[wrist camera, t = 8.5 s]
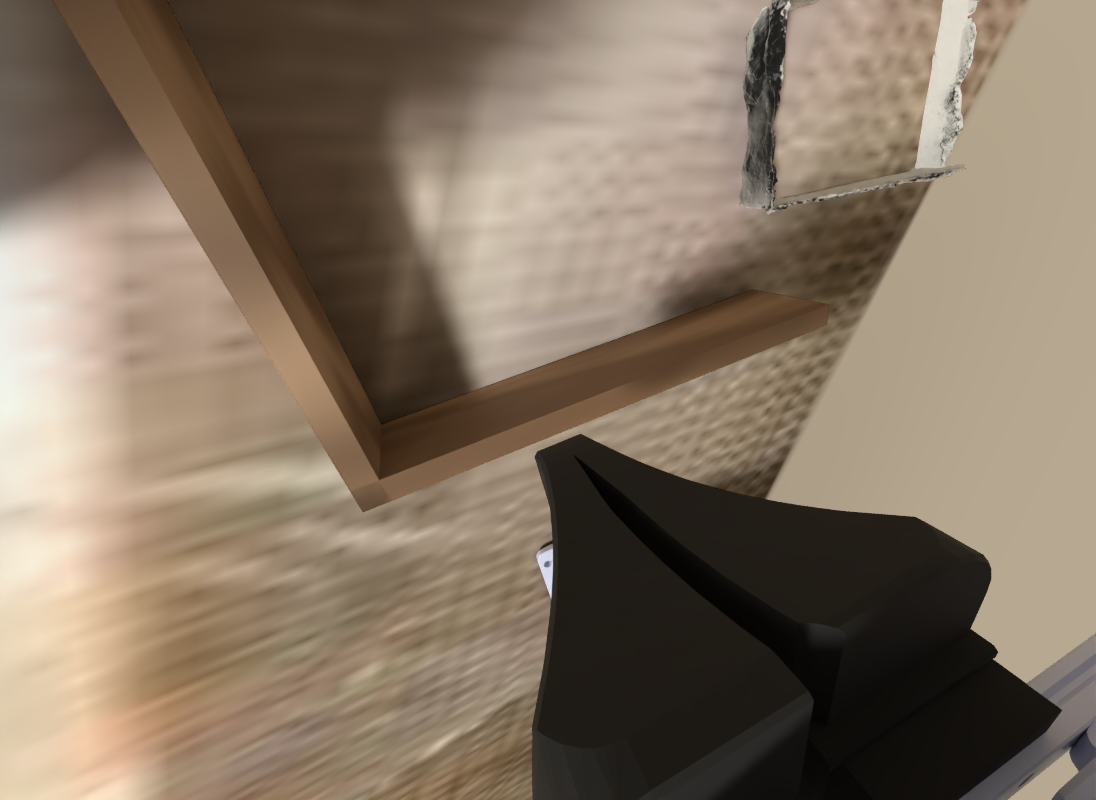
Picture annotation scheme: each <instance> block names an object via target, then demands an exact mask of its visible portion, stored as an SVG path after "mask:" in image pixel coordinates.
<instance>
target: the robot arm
mask: <svg viewBox="0 0 1096 800" xmlns="http://www.w3.org/2000/svg"><path fill="white" fill-rule="evenodd" d="M535 460H536V463H537V466H538V469H539V473H540V476H541V479H542V483H543V486H544V489H545V492H546V496H547V499H548V502H549V506H550V511H551V523H552V537H553V544H551V545H549V546H547V547H545V548H542V549H541V550H539V552H538V553H537V555H536V556H537V560H538V563H539V566H540V569H541V572H542V574H543V577H544V580H545V583H546V586H547V589H548V591H549V594H550V597H551V609H550V619H549V627H548V635H547V643H546V651H545V659H544V665H543V671H542V677H541V682H540V687H539V693H538V698H537V703H536V709H535V714H534V719H533V725H532V735H533V739H532V792H533V800H1008V799H1009V798H1010V797H1011V796H1013V795H1014V794H1015V793H1016V792H1018V791H1019V790H1020V789H1021V788H1023V787H1024V786H1025V785H1026V784H1028V783H1029V782H1030V781H1031V780H1032V779H1034V778H1035V777H1036V776H1038V775H1039V774H1040V773H1041V772H1043V771H1044V770H1045V769H1046V768H1047V767H1049V766H1050V765H1051V764H1052V763H1054V762H1055V761H1056V760H1057V759H1059V758H1060V757H1061V756H1062V755H1063V754H1065V753H1066V752H1067V751H1069V750H1070V749H1071V750H1070V752H1069V753H1070V757H1071V760H1072V762H1073V763H1074V765H1075V766H1076V768H1077V769H1078V771H1079V772H1078V774H1076V775H1075V776H1074V777H1073V778H1072V779H1071V780H1070V781H1068V782H1067V783H1066V784H1065V785H1064V786H1063V787H1062V788H1061V789H1060V790H1059V791H1058V792H1057V793H1056V794H1055V796H1054V797H1053V798H1052V800H1096V633H1095V634H1094V635H1093V636H1091V637H1090V638H1088V639H1087V640H1086V641H1084V642H1083V643H1082V644H1080V645H1079V646H1077V647H1076V648H1075V649H1073V650H1072V651H1071V652H1069V653H1068V654H1066V655H1065V656H1064V657H1062V658H1061V659H1060V660H1058V661H1057V662H1056V663H1054V664H1053V665H1051V666H1050V667H1049V668H1047V669H1046V670H1045V671H1043V672H1042V673H1040V674H1039V675H1038V676H1036V677H1035V678H1034V679H1032V680H1031V681H1029V682H1028V683H1027V684H1026V683H1025V682H1023V681H1022V680H1021V679H1019V678H1018V677H1016V676H1015V675H1013V674H1012V673H1011V672H1009V671H1008V670H1007V669H1006V668H1004V667H1003V666H1001V665H1000V664H999V663H997V662H996V661H994V660H993V658H995V657H996V655H997V653H998V651H997V649H996V648H995V647H994V645H992V644H991V643H990V642H988V641H987V640H985V639H984V638H982V637H981V636H980V635H978V634H977V633H975V632H974V631H973V630H971V629H970V628H971V626H972V624H973V622H974V620H975V617H976V615H977V613H978V611H979V608H980V606H981V604H982V602H983V600H984V597H985V595H986V593H987V590H988V587H989V584H990V581H991V567H990V564H989V562H988V560H987V559H986V558H985V556H984V555H983V554H981V553H979V552H977V551H976V550H974V549H972V548H970V547H968V546H967V545H965V544H963V543H961V542H960V541H958V540H956V539H954V538H952V537H951V536H949V535H947V534H945V533H944V532H942V531H940V530H938V529H936V528H935V527H933V526H931V525H929V524H928V523H926V522H924V521H922V520H920V519H918V518H916V517H909V516H896V515H885V514H872V513H859V512H847V511H837V510H830V509H822V508H815V507H808V506H801V505H794V504H788V503H782V502H776V501H771V500H766V499H761V498H756V497H752V496H747V495H742V494H738V493H733V492H729V491H725V490H721V489H718V488H714V487H711V486H707V485H704V484H700V483H697V482H693V481H690V480H687V479H684V478H681V477H678V476H675V475H673V474H670V473H667V472H664V471H662V470H659V469H656V468H654V467H651V466H649V465H646V464H644V463H641V462H639V461H637V460H635V459H632V458H630V457H628V456H625V455H623V454H621V453H619V452H617V451H615V450H613V449H611V448H608V447H606V446H604V445H602V444H600V443H598V442H596V441H594V440H592V439H590V438H588V437H586V436H584V435H582V434H579V435H577V436H574V437H572V438H569V439H567V440H564V441H562V442H559V443H557V444H555V445H552V446H550V447H547V448H545V449H542V450H540V451H538V452H537V453H536V455H535ZM546 561H548V562H546ZM545 562H546V563H545Z"/></svg>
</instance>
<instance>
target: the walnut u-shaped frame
mask: <svg viewBox="0 0 1096 800" xmlns="http://www.w3.org/2000/svg"><path fill="white" fill-rule="evenodd" d="M52 1H53V2H54V4H55V6H56V7H57V9H58V11H59V12H60V14H61V16H62V17H63V19H64V21H65V22H66V24H67V25H68V27H69V29H70V30H71V32H72V34H73V35H74V37H75V39H76V40H77V42H78V44H79V45H80V47H81V49H82V50H83V52H84V53H85V55H86V57H87V58H88V60H89V62H90V63H91V65H92V67H93V68H94V70H95V72H96V73H97V75H98V77H99V78H100V80H101V81H102V83H103V85H104V86H105V88H106V90H107V91H108V93H109V95H110V96H111V98H112V100H113V101H114V103H115V105H116V106H117V108H118V110H119V111H120V113H121V114H122V116H123V118H124V119H125V121H126V123H127V124H128V126H129V128H130V129H131V131H132V133H133V134H134V136H135V138H136V139H137V141H138V142H139V144H140V146H141V147H142V149H143V151H144V152H145V154H146V156H147V157H148V159H149V161H150V162H151V164H152V166H153V167H154V169H155V170H156V172H157V174H158V175H159V177H160V179H161V180H162V182H163V184H164V185H165V187H166V189H167V190H168V192H169V194H170V195H171V197H172V199H173V200H174V202H175V203H176V205H177V207H178V208H179V210H180V212H181V213H182V215H183V217H184V218H185V220H186V222H187V223H188V225H189V227H190V228H191V230H192V231H193V233H194V235H195V236H196V238H197V240H198V241H199V243H200V245H201V246H202V248H203V250H204V251H205V253H206V255H207V256H208V258H209V259H210V261H211V263H212V264H213V266H214V268H215V269H216V271H217V273H218V274H219V276H220V278H221V279H222V281H223V283H224V284H225V286H226V287H227V289H228V291H229V292H230V294H231V296H232V297H233V299H234V301H235V302H236V304H237V306H238V307H239V309H240V311H241V312H242V314H243V316H244V317H245V319H246V320H247V322H248V324H249V325H250V327H251V329H252V330H253V332H254V334H255V335H256V337H257V339H258V340H259V342H260V344H261V345H262V347H263V348H264V350H265V352H266V353H267V355H268V357H269V358H270V360H271V362H272V363H273V365H274V367H275V368H276V370H277V372H278V373H279V375H280V376H281V378H282V380H283V381H284V383H285V385H286V386H287V388H288V390H289V391H290V393H291V395H292V396H293V398H294V400H295V401H296V403H297V405H298V406H299V408H300V409H301V411H302V413H303V414H304V416H305V418H306V419H307V421H308V423H309V424H310V426H311V428H312V429H313V431H314V433H315V434H316V436H317V437H318V439H319V441H320V442H321V444H322V446H323V447H324V449H325V451H326V452H327V454H328V456H329V457H330V459H331V461H332V462H333V464H334V465H335V467H336V469H337V470H338V472H339V474H340V475H341V477H342V479H343V480H344V482H345V484H346V485H347V487H348V489H349V490H350V492H351V494H352V495H353V497H354V498H355V500H356V502H357V503H358V505H359V507H360V508H361V510H362V512H365V511H368V510H370V509H373V508H375V507H378V506H380V505H382V504H385V503H387V502H390V501H392V500H395V499H397V498H400V497H402V496H405V495H407V494H410V493H412V492H415V491H417V490H420V489H422V488H425V487H427V486H430V485H432V484H435V483H437V482H439V481H442V480H444V479H447V478H449V477H452V476H454V475H457V474H459V473H462V472H464V471H467V470H469V469H472V468H474V467H477V466H479V465H482V464H484V463H487V462H489V461H491V460H494V459H496V458H499V457H501V456H504V455H506V454H509V453H511V452H514V451H516V450H519V449H521V448H524V447H526V446H529V445H531V444H534V443H536V442H539V441H541V440H544V439H546V438H548V437H551V436H553V435H556V434H558V433H561V432H563V431H566V430H568V429H571V428H573V427H576V426H578V425H581V424H583V423H586V422H588V421H591V420H593V419H596V418H598V417H600V416H603V415H605V414H608V413H610V412H613V411H615V410H618V409H620V408H623V407H625V406H628V405H630V404H633V403H635V402H638V401H640V400H643V399H645V398H648V397H650V396H652V395H655V394H657V393H660V392H662V391H665V390H667V389H670V388H672V387H675V386H677V385H680V384H682V383H685V382H687V381H690V380H692V379H695V378H697V377H700V376H702V375H705V374H707V373H709V372H712V371H714V370H717V369H719V368H722V367H724V366H727V365H729V364H732V363H734V362H737V361H739V360H742V359H744V358H747V357H749V356H752V355H754V354H757V353H759V352H761V351H764V350H766V349H769V348H771V347H774V346H776V345H779V344H781V343H784V342H786V341H789V340H791V339H794V338H796V337H799V336H801V335H804V334H806V333H809V332H811V331H814V330H816V329H818V328H821V327H823V326H826V325H827V321H828V312H829V304H825V303H820V302H814V301H809V300H804V299H799V298H793V297H788V296H783V295H778V294H772V293H767V292H762V291H757V290H751V291H748V292H745V293H743V294H740V295H737V296H734V297H732V298H729V299H726V300H723V301H721V302H718V303H715V304H712V305H710V306H707V307H704V308H701V309H699V310H696V311H693V312H690V313H688V314H685V315H682V316H679V317H677V318H674V319H671V320H668V321H666V322H663V323H660V324H657V325H655V326H652V327H649V328H646V329H644V330H641V331H638V332H635V333H633V334H630V335H627V336H624V337H622V338H619V339H616V340H613V341H611V342H608V343H605V344H602V345H600V346H597V347H594V348H591V349H589V350H586V351H583V352H580V353H578V354H575V355H572V356H569V357H566V358H564V359H561V360H558V361H555V362H553V363H550V364H547V365H544V366H542V367H539V368H536V369H533V370H531V371H528V372H525V373H522V374H520V375H517V376H514V377H511V378H509V379H506V380H503V381H500V382H498V383H495V384H492V385H489V386H487V387H484V388H481V389H478V390H476V391H473V392H470V393H467V394H465V395H462V396H459V397H456V398H454V399H451V400H448V401H445V402H443V403H440V404H437V405H434V406H432V407H429V408H426V409H423V410H421V411H418V412H415V413H412V414H410V415H407V416H404V417H401V418H399V419H396V420H393V421H390V422H388V423H385V424H382V425H381V423H380V421H379V419H378V417H377V415H376V413H375V411H374V409H373V407H372V405H371V403H370V401H369V399H368V397H367V395H366V393H365V391H364V389H363V387H362V385H361V383H360V381H359V379H358V377H357V375H356V373H355V371H354V369H353V367H352V365H351V363H350V361H349V359H348V357H347V355H346V353H345V351H344V349H343V347H342V345H341V343H340V342H339V340H338V338H337V336H336V334H335V332H334V330H333V328H332V326H331V324H330V322H329V320H328V318H327V316H326V314H325V312H324V310H323V308H322V306H321V304H320V302H319V300H318V298H317V296H316V294H315V292H314V290H313V288H312V286H311V284H310V282H309V280H308V278H307V276H306V274H305V272H304V270H303V268H302V266H301V264H300V262H299V260H298V258H297V257H296V255H295V253H294V251H293V249H292V247H291V245H290V243H289V241H288V239H287V237H286V235H285V233H284V231H283V229H282V227H281V225H280V223H279V221H278V219H277V217H276V215H275V213H274V211H273V209H272V207H271V205H270V203H269V201H268V199H267V197H266V195H265V193H264V191H263V189H262V187H261V185H260V183H259V181H258V179H257V177H256V175H255V173H254V172H253V170H252V168H251V166H250V164H249V162H248V160H247V158H246V156H245V154H244V152H243V150H242V148H241V146H240V144H239V142H238V140H237V138H236V136H235V134H234V132H233V130H232V128H231V126H230V124H229V122H228V120H227V118H226V116H225V114H224V112H223V110H222V108H221V106H220V104H219V102H218V100H217V98H216V96H215V94H214V92H213V90H212V88H211V87H210V85H209V83H208V81H207V79H206V77H205V75H204V73H203V71H202V69H201V67H200V65H199V63H198V61H197V59H196V57H195V55H194V53H193V51H192V49H191V47H190V45H189V43H188V41H187V39H186V37H185V35H184V33H183V31H182V29H181V27H180V25H179V23H178V21H177V19H176V17H175V15H174V13H173V11H172V9H171V7H170V5H169V3H168V2H167V0H52Z"/></svg>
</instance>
